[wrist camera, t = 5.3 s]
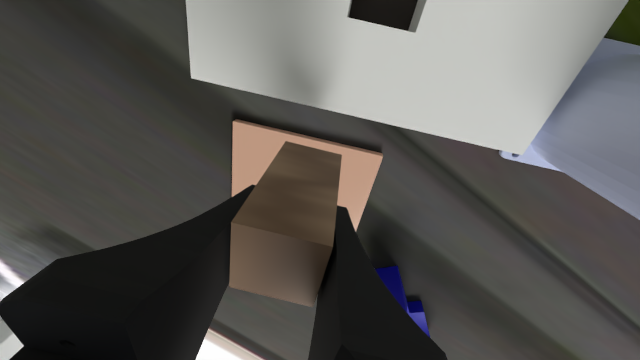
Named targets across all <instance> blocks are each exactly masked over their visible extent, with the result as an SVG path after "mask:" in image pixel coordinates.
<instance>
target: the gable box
mask: <svg viewBox="0 0 640 360" xmlns="http://www.w3.org/2000/svg"><path fill="white" fill-rule="evenodd" d="M23 346H24V345H23V344H22V343H21V342H20V340H19V339H18V338H17V337H16V335H15V334H14V333H13V332H12V331H11V329H10V328H9V327H8V326H7V324H6V323H5V322H4V320H0V360H9V359H10V358H12V357H13V356H14V355H15V354H16V353H17V352H18V351H19V350H20V349H21V348H22V347H23Z"/></svg>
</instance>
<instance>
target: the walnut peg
mask: <svg viewBox="0 0 640 360" xmlns="http://www.w3.org/2000/svg"><path fill="white" fill-rule="evenodd" d="M341 159H342V155H341V154H337V153H333V152H329V151H325V150H320V149H316V148H312V147H308V146H304V145H300V144H296V143H292V142H288V141H285V143H284V144H283V146H282V147H281V149H280V150H279V152H278V153H277V155H276V156H275V158H274V159H273V161H272V162H271V164H270V165H269V167H268V168H267V170H266V171H265V173H264V174H263V176H262V177H261V179H260V180H259V182H258V183H257V185H256V186H255V187H254V189H253V190H252V192H251V193H250V195H249V196H248V198H247V199H246V201H245V202H244V204H243V205H242V207H241V208H240V210H239V211H238V213H237V214H236V216H235V217H234V219H233V220H232V222H231V245H230V280H229V287H232V288H236V289H240V290H244V291H248V292H252V293H256V294H261V295H265V296H269V297H273V298H277V299H281V300H285V301H290V302H294V303H298V304H302V305H306V306H310V307H313V306H314V303H315V300H316V297H317V294H318V291H319V288H320V285H321V282H322V279H323V276H324V273H325V270H326V267H327V263H328V260H329V257H330V254H331V251H332V248H333V242H334V231H335V221H336V211H337V201H338V190H339V180H340V170H341Z"/></svg>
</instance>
